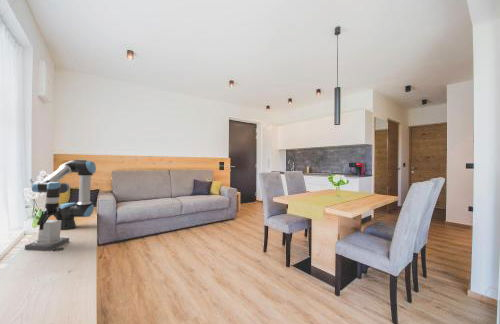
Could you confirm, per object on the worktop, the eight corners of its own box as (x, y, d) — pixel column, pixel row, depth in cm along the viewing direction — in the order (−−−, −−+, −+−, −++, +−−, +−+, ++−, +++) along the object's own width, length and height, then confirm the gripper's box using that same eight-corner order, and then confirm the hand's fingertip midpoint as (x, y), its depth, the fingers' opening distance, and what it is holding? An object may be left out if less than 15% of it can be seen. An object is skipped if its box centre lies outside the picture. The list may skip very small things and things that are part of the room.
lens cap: (54, 249, 159) (54, 247, 160) (64, 248, 162) (64, 247, 162) (51, 251, 154) (51, 250, 154) (62, 251, 157) (62, 249, 157)
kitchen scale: (47, 240, 173) (48, 235, 173) (69, 241, 174) (69, 236, 174) (24, 249, 154) (25, 243, 154) (48, 250, 155) (49, 244, 155)
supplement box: (60, 239, 169) (62, 220, 170) (48, 243, 160) (50, 222, 161) (49, 238, 170) (51, 219, 170) (37, 242, 161) (39, 221, 161)
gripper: (60, 199, 178) (58, 226, 177) (31, 205, 153) (28, 236, 152) (70, 200, 178) (67, 226, 178) (43, 206, 153) (40, 236, 153)
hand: (49, 231), depth 165 cm, fingers open, 13 cm apart
